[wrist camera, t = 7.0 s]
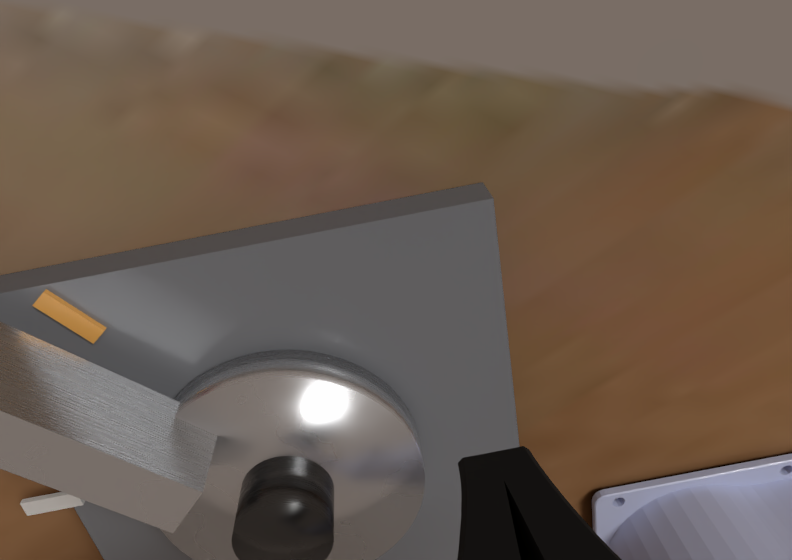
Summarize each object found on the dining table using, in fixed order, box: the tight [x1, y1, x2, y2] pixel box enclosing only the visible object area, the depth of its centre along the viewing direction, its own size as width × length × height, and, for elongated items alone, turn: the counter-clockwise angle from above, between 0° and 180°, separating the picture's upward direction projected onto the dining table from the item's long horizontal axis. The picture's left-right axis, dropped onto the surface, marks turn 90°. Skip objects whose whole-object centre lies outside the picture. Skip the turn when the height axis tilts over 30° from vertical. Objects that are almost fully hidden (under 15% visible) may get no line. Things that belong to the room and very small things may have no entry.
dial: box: [0, 322, 425, 560], centre depth 19 cm, size 16×9×4 cm, turn 55°
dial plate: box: [0, 182, 519, 560], centre depth 22 cm, size 16×18×2 cm
